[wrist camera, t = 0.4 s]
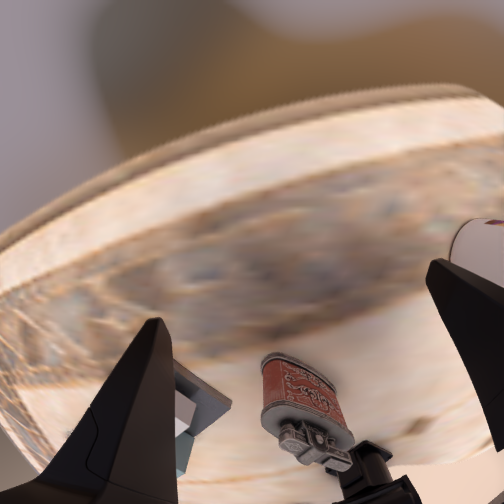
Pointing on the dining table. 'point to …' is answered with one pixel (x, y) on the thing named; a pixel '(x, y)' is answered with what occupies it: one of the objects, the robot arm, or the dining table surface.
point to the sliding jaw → (182, 439)
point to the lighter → (304, 413)
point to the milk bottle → (481, 249)
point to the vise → (200, 399)
